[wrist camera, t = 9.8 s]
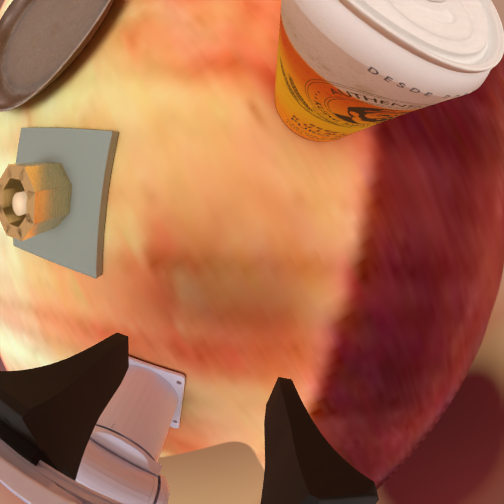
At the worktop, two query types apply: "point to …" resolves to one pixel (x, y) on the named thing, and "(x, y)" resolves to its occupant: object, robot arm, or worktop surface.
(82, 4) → the plant saucer
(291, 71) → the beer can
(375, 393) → the worktop surface
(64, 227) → the post plate
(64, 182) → the collar
